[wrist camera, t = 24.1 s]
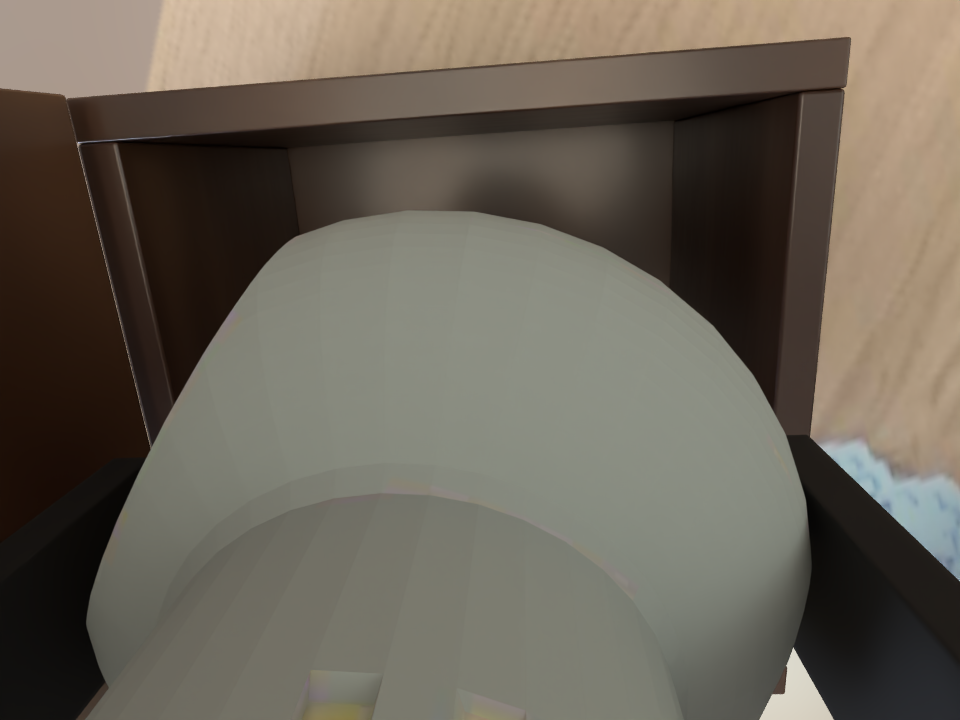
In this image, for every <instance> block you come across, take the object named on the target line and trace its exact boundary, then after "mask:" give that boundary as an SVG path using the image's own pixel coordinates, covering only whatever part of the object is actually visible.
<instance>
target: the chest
mask: <svg viewBox="0 0 960 720" xmlns="http://www.w3.org/2000/svg"><path fill="white" fill-rule="evenodd" d="M850 45H851V38H850V37H843V38H830V39H817V40H804V41H792V42H779V43H766V44H754V45H741V46H728V47H715V48H703V49H690V50H677V51H664V52H652V53H639V54H626V55H614V56H601V57H588V58H575V59H563V60H550V61H537V62H525V63H512V64H499V65H486V66H474V67H461V68H448V69H435V70H423V71H410V72H397V73H385V74H372V75H359V76H346V77H334V78H321V79H308V80H296V81H283V82H270V83H257V84H245V85H232V86H219V87H206V88H194V89H181V90H168V91H156V92H143V93H131V94H118V95H105V96H92V97H80V98H68V99H67V100H66V102H67V106H68V110H69V114H70V118H71V122H72V126H73V130H74V135H75V139H76V142H77V143H79V144H81V145H79V152H80V156H81V160H82V164H83V168H84V172H85V177H86V181H87V185H88V189H89V193H90V197H91V201H92V205H93V210H94V213H95V218H96V222H97V226H98V230H99V234H100V238H101V242H102V247H103V251H104V255H105V259H106V263H107V267H108V272H109V276H110V280H111V284H112V288H113V292H114V296H115V300H116V305H117V309H118V313H119V317H120V321H121V325H122V329H123V333H124V338H125V342H126V346H127V350H128V354H129V358H130V362H131V367H132V371H133V375H134V379H135V383H136V387H137V391H138V395H139V400H140V404H141V408H142V412H143V416H144V420H145V424H146V428H147V433H148V437H149V441H150V445H151V448H152V446H153V444H154V442H155V440H156V438H157V436H158V434H159V432H160V430H161V428H162V426H163V424H164V422H165V420H166V419H167V417H168V415H169V413H170V411H171V410H172V408H173V406H174V404H175V403H176V401H177V399H178V397H179V395H180V394H181V392H182V390H183V388H184V387H185V385H186V383H187V381H188V380H189V378H190V376H191V374H192V373H193V371H194V369H195V367H196V366H197V364H198V362H199V361H200V359H201V357H202V355H203V354H204V352H205V351H206V349H207V347H208V346H209V344H210V343H211V341H212V339H213V338H214V336H215V335H216V333H217V332H218V330H219V329H220V327H221V326H222V324H223V323H224V321H225V320H226V318H227V317H228V315H229V314H230V312H231V311H232V309H233V308H234V306H235V305H236V303H237V302H238V301H239V299H240V298H241V296H242V295H243V293H244V292H245V291H246V289H247V288H248V286H249V285H250V283H251V282H252V281H253V279H254V278H255V277H256V276H257V274H258V273H259V272H260V270H261V269H262V268H263V267H264V265H265V264H266V263H267V262H268V261H269V260H270V259H271V258H272V257H273V256H274V254H275V253H276V252H277V251H278V250H279V249H281V248H282V247H283V246H284V245H285V244H286V243H287V242H288V241H290V240H291V239H293V238H294V237H296V236H299V235H302V234H305V233H308V232H311V231H314V230H317V229H319V228H322V227H325V226H328V225H331V224H334V223H337V222H340V221H343V220H349V219H356V218H362V217H369V216H375V215H381V214H388V213H394V212H401V211H407V210H411V211H467V212H479V213H484V214H490V215H495V216H500V217H505V218H511V219H516V220H521V221H527V222H532V223H537V224H542V225H544V226H547V227H550V228H552V229H555V230H558V231H560V232H563V233H566V234H568V235H571V236H574V237H576V238H579V239H582V240H584V241H587V242H590V243H593V244H595V245H598V246H601V247H603V248H605V249H607V250H608V251H610V252H612V253H614V254H615V255H617V256H619V257H620V258H622V259H624V260H626V261H627V262H629V263H631V264H632V265H634V266H636V267H638V268H639V269H641V270H643V271H644V272H646V273H648V274H650V275H651V276H653V277H655V278H656V279H658V280H660V281H661V282H662V283H663V284H664V285H666V286H667V287H668V288H669V289H670V290H672V291H673V292H674V293H675V294H676V295H677V296H679V297H680V298H681V299H682V300H683V301H685V302H686V303H687V304H688V305H689V306H690V307H692V308H693V309H694V310H695V311H696V312H697V313H699V314H700V315H701V316H702V317H703V318H705V319H706V320H707V321H708V322H709V323H710V324H712V325H713V326H714V327H715V329H716V330H717V331H718V332H719V334H720V335H721V336H722V337H723V339H724V340H725V341H726V342H727V343H728V345H729V346H730V347H731V348H732V350H733V351H734V352H735V353H736V354H737V356H738V357H739V358H740V359H741V361H742V362H743V363H744V364H745V365H746V367H747V368H748V369H749V370H750V372H751V373H752V374H753V376H754V377H755V379H756V381H757V382H758V384H759V386H760V388H761V390H762V392H763V393H764V395H765V397H766V399H767V401H768V403H769V404H770V406H771V408H772V410H773V412H774V414H775V416H776V417H777V419H778V421H779V423H780V425H781V427H782V428H783V430H784V432H785V434H786V435H808V436H809V437H810V431H811V421H812V412H813V402H814V392H815V382H816V372H817V362H818V352H819V342H820V332H821V322H822V312H823V302H824V292H825V282H826V273H827V263H828V253H829V243H830V233H831V223H832V213H833V203H834V193H835V183H836V173H837V163H838V153H839V143H840V134H841V124H842V114H843V104H844V94H845V93H844V90H843V89H841V88H844V87H846V84H847V74H848V64H849V54H850ZM786 674H787V667H785V669H784V671H783V673H782V675H781V678H780V680H779V682H778V684H777V686H776V688H775V689H774V691H773V693H772V694H784V693H785V684H786Z"/></svg>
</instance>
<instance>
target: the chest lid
mask: <svg viewBox="0 0 960 720" xmlns="http://www.w3.org/2000/svg"><path fill="white" fill-rule="evenodd" d="M150 450H151V449H150V444H149V440H148V436H147V432H146V428H145V424H144V420H143V416H142V411H141V407H140V403H139V399H138V395H137V391H136V387H135V383H134V378H133V374H132V370H131V366H130V362H129V358H128V354H127V350H126V345H125V341H124V337H123V333H122V329H121V325H120V321H119V317H118V312H117V308H116V304H115V300H114V296H113V292H112V288H111V284H110V280H109V275H108V271H107V267H106V263H105V259H104V255H103V251H102V247H101V243H100V238H99V234H98V230H97V226H96V222H95V218H94V214H93V210H92V206H91V201H90V197H89V193H88V189H87V185H86V181H85V176H84V173H83V168H82V164H81V160H80V156H79V152H78V148H77V143H76V139H75V135H74V131H73V127H72V123H71V119H70V115H69V111H68V106H67V102H66V98H65V96H63V95H60V94H50V93H40V92H30V91H20V90H11V89H1V88H0V543H1V542H3V541H4V540H5V539H7V538H8V537H9V536H11V535H12V534H13V533H15V532H16V531H17V530H19V529H20V528H21V527H23V526H24V525H25V524H27V523H28V522H29V521H31V520H32V519H33V518H35V517H36V516H37V515H39V514H40V513H41V512H43V511H44V510H45V509H47V508H48V507H49V506H51V505H52V504H53V503H55V502H56V501H57V500H59V499H60V498H61V497H63V496H64V495H65V494H67V493H68V492H69V491H71V490H72V489H73V488H75V487H76V486H77V485H79V484H80V483H82V482H83V481H84V480H86V479H87V478H88V477H90V476H91V475H92V474H94V473H95V472H96V471H98V470H99V469H100V468H102V467H103V466H104V465H106V464H107V463H108V462H110V461H111V460H112V459H114V458H137V457H147V456H148V454H149V452H150ZM108 689H109V687H108V685H107V683H106V682H105V683H104V685H103V686H102V687H101V688H100V690H99V691H98V692H97V693H96V695H95V696H94V697H93V699H92V700H91V701H90V702H89V704H88V705H87V706H86V707H85V709H84V710H83V711H82V713H81V714H80V715H79V716H78V718H77V719H76V720H85V719H86V718H87V717H88V715H89V714H90V713H91V711H92V710H93V709H94V707H95V706H96V705H97V703H98V702H99V701H100V699H101V698H102V697H103V695H104V694H105V693H106V691H107V690H108Z"/></svg>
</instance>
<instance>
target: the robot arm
mask: <svg viewBox="0 0 960 720" xmlns="http://www.w3.org/2000/svg"><path fill="white" fill-rule="evenodd" d="M786 437H787V440H788V443H789V447H790V450H791V453H792V456H793V459H794V463H795V466H796V469H797V472H798V476H799V479H800V482H801V485H802V488H803V492H804V495H805V498H806V506H807V516H808V526H809V536H810V546H811V559H812V570H811V578H810V586H809V590H808V595H807V599H806V604H805V609H804V613H803V616H802V620H801V623H800V627H799V630H798V633H797V637H796V640H795V643H794V646H793V647H794V649H795V651H796V653H797V654H798V656H799V658H800V660H801V662H802V663H803V665H804V667H805V669H806V670H807V672H808V674H809V676H810V678H811V679H812V681H813V683H814V685H815V687H816V688H817V690H818V692H819V694H820V695H821V697H822V699H823V701H824V702H825V704H826V706H827V708H828V709H829V711H830V713H831V715H832V717H833V719H834V720H960V581H959V580H958V579H957V578H956V577H955V576H954V575H952V574H951V573H950V572H949V571H948V570H947V569H946V568H945V567H944V566H943V565H942V564H941V563H940V562H939V561H938V560H937V559H936V558H935V557H934V556H933V555H932V554H931V553H930V552H929V551H928V550H926V549H925V548H924V547H923V546H922V545H921V544H920V543H919V542H918V541H917V540H916V539H915V538H914V537H913V536H912V535H911V534H910V533H909V532H908V531H907V530H906V529H905V528H904V527H903V526H902V525H900V524H899V523H898V522H897V521H896V520H895V519H894V518H893V517H892V516H891V515H890V514H889V513H888V512H887V511H886V510H885V509H884V508H883V507H882V506H881V505H880V504H879V503H878V502H877V501H876V500H874V499H873V498H872V497H871V496H870V495H869V494H868V493H867V492H866V491H865V490H864V489H863V488H862V487H861V486H860V485H859V484H858V483H857V482H856V481H855V480H854V479H853V478H852V477H851V476H850V475H848V474H847V473H846V472H845V471H844V470H843V469H842V468H841V467H840V466H839V465H838V464H837V463H836V462H835V461H834V460H833V459H832V458H831V457H830V456H829V455H828V454H827V453H826V452H825V451H824V450H823V449H821V448H820V447H819V446H818V445H817V444H816V443H815V442H814V441H813V440H812V439H811V438H810V437H809V436H808V435H786ZM146 458H147V457H137V458H114V459H112V460H111V461H110V462H108V463H107V464H106V465H104V466H103V467H102V468H100V469H99V470H98V471H96V472H95V473H94V474H92V475H91V476H90V477H88V478H87V479H86V480H84V481H83V482H82V483H80V484H79V485H77V486H76V487H75V488H73V489H72V490H71V491H69V492H68V493H67V494H65V495H64V496H63V497H61V498H60V499H59V500H57V501H56V502H55V503H53V504H52V505H51V506H49V507H48V508H47V509H45V510H44V511H43V512H41V513H40V514H39V515H37V516H36V517H35V518H33V519H32V520H31V521H29V522H28V523H27V524H25V525H24V526H23V527H21V528H20V529H19V530H17V531H16V532H15V533H13V534H12V535H11V536H9V537H8V538H7V539H5V540H4V541H3V542H1V543H0V720H76V719H77V718H78V716H79V715H80V714H81V713H82V711H83V710H84V709H85V707H86V706H87V705H88V704H89V702H90V701H91V700H92V699H93V697H94V696H95V695H96V693H97V692H98V691H99V690H100V688H101V687H102V686H103V685H104V683H105V682H106V681H105V679H104V677H103V675H102V673H101V670H100V668H99V665H98V662H97V659H96V656H95V652H94V649H93V646H92V643H91V640H90V636H89V633H88V630H87V626H86V620H87V612H88V606H89V600H90V595H91V592H92V588H93V585H94V582H95V579H96V576H97V573H98V570H99V567H100V563H101V560H102V558H103V555H104V553H105V550H106V548H107V545H108V543H109V540H110V537H111V535H112V532H113V530H114V527H115V525H116V522H117V520H118V518H119V515H120V513H121V511H122V509H123V507H124V504H125V502H126V500H127V498H128V496H129V493H130V491H131V489H132V487H133V485H134V482H135V480H136V478H137V476H138V474H139V472H140V470H141V468H142V466H143V464H144V462H145V460H146Z"/></svg>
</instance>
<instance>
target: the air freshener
mask: <svg viewBox="0 0 960 720" xmlns="http://www.w3.org/2000/svg"><path fill="white" fill-rule="evenodd" d="M811 570H812V559H811V546H810V536H809V526H808V516H807V506H806V498H805V495H804V492H803V488H802V485H801V482H800V479H799V476H798V472H797V469H796V466H795V463H794V459H793V456H792V453H791V450H790V447H789V443H788V440H787V437H786V434H785V432H784V430H783V428H782V427H781V425H780V423H779V421H778V419H777V417H776V416H775V414H774V412H773V410H772V408H771V406H770V404H769V403H768V401H767V399H766V397H765V395H764V393H763V392H762V390H761V388H760V386H759V384H758V382H757V381H756V379H755V377H754V376H753V374H752V373H751V372H750V370H749V369H748V368H747V367H746V365H745V364H744V363H743V362H742V361H741V359H740V358H739V357H738V356H737V354H736V353H735V352H734V351H733V350H732V348H731V347H730V346H729V345H728V343H727V342H726V341H725V340H724V339H723V337H722V336H721V335H720V334H719V332H718V331H717V330H716V329H715V327H714V326H713V325H712V324H710V323H709V322H708V321H707V320H706V319H705V318H703V317H702V316H701V315H700V314H699V313H697V312H696V311H695V310H694V309H693V308H692V307H690V306H689V305H688V304H687V303H686V302H685V301H683V300H682V299H681V298H680V297H679V296H677V295H676V294H675V293H674V292H673V291H672V290H670V289H669V288H668V287H667V286H666V285H664V284H663V283H662V282H661V281H660V280H658V279H656V278H655V277H653V276H651V275H650V274H648V273H646V272H644V271H643V270H641V269H639V268H638V267H636V266H634V265H632V264H631V263H629V262H627V261H626V260H624V259H622V258H620V257H619V256H617V255H615V254H614V253H612V252H610V251H608V250H607V249H605V248H603V247H601V246H598V245H595V244H593V243H590V242H587V241H584V240H582V239H579V238H576V237H574V236H571V235H568V234H566V233H563V232H560V231H558V230H555V229H552V228H550V227H547V226H544V225H542V224H537V223H532V222H527V221H521V220H516V219H511V218H505V217H500V216H495V215H490V214H484V213H479V212H467V211H411V210H407V211H401V212H394V213H388V214H381V215H375V216H369V217H362V218H356V219H349V220H343V221H340V222H337V223H334V224H331V225H328V226H325V227H322V228H319V229H317V230H314V231H311V232H308V233H305V234H302V235H299V236H296V237H294V238H293V239H291V240H290V241H288V242H287V243H286V244H285V245H284V246H283V247H282V248H281V249H279V250H278V251H277V252H276V253H275V254H274V256H273V257H272V258H271V259H270V260H269V261H268V262H267V263H266V264H265V265H264V267H263V268H262V269H261V270H260V272H259V273H258V274H257V276H256V277H255V278H254V279H253V281H252V282H251V283H250V285H249V286H248V288H247V289H246V291H245V292H244V293H243V295H242V296H241V298H240V299H239V301H238V302H237V303H236V305H235V306H234V308H233V309H232V311H231V312H230V314H229V315H228V317H227V318H226V320H225V321H224V323H223V324H222V326H221V327H220V329H219V330H218V332H217V333H216V335H215V336H214V338H213V339H212V341H211V343H210V344H209V346H208V347H207V349H206V351H205V352H204V354H203V355H202V357H201V359H200V361H199V362H198V364H197V366H196V367H195V369H194V371H193V373H192V374H191V376H190V378H189V380H188V381H187V383H186V385H185V387H184V388H183V390H182V392H181V394H180V395H179V397H178V399H177V401H176V403H175V404H174V406H173V408H172V410H171V411H170V413H169V415H168V417H167V419H166V420H165V422H164V424H163V426H162V428H161V430H160V432H159V434H158V436H157V438H156V440H155V442H154V444H153V446H152V448H151V450H150V452H149V454H148V456H147V458H146V460H145V462H144V464H143V466H142V468H141V470H140V472H139V474H138V476H137V478H136V480H135V482H134V485H133V487H132V489H131V491H130V493H129V496H128V498H127V500H126V502H125V504H124V507H123V509H122V511H121V513H120V515H119V518H118V520H117V522H116V525H115V527H114V530H113V532H112V535H111V537H110V540H109V543H108V545H107V548H106V550H105V553H104V555H103V558H102V560H101V563H100V567H99V570H98V573H97V576H96V579H95V582H94V585H93V588H92V592H91V595H90V600H89V606H88V612H87V620H86V626H87V630H88V633H89V636H90V640H91V643H92V646H93V649H94V652H95V656H96V659H97V662H98V665H99V668H100V670H101V673H102V675H103V677H104V679H105V681H106V683H107V685H108V687H109V689H108V690H107V691H106V693H105V694H104V695H103V697H102V698H101V699H100V701H99V702H98V703H97V705H96V706H95V707H94V709H93V710H92V711H91V713H90V714H89V715H88V717H87V718H86V719H85V720H759V719H760V717H761V715H762V713H763V711H764V709H765V707H766V705H767V703H768V701H769V699H770V697H771V695H772V693H773V691H774V689H775V688H776V686H777V684H778V682H779V680H780V678H781V675H782V673H783V671H784V669H785V667H786V665H787V662H788V660H789V657H790V654H791V652H792V649H793V646H794V643H795V640H796V637H797V633H798V630H799V627H800V623H801V620H802V616H803V613H804V609H805V604H806V599H807V595H808V590H809V586H810V578H811Z"/></svg>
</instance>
